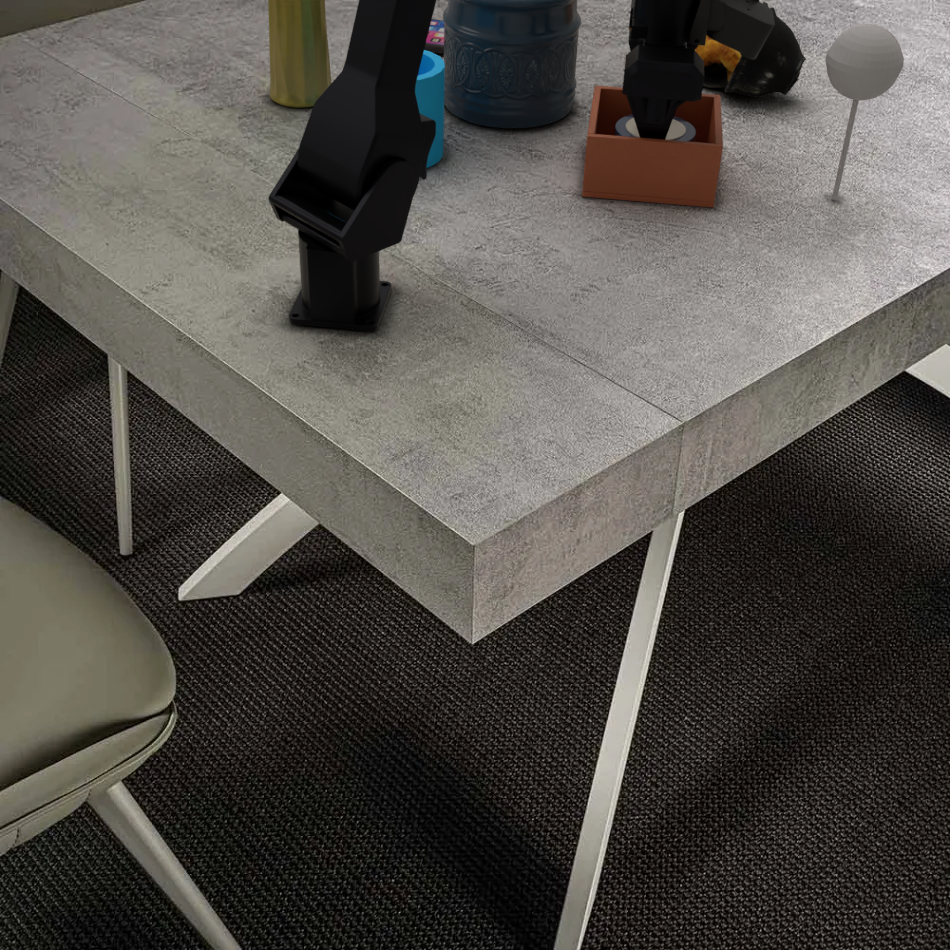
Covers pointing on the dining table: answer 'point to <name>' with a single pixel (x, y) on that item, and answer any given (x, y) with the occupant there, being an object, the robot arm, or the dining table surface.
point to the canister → (510, 61)
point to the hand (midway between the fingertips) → (653, 139)
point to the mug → (432, 99)
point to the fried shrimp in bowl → (754, 64)
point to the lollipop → (862, 71)
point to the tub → (653, 155)
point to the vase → (298, 52)
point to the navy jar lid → (677, 131)
